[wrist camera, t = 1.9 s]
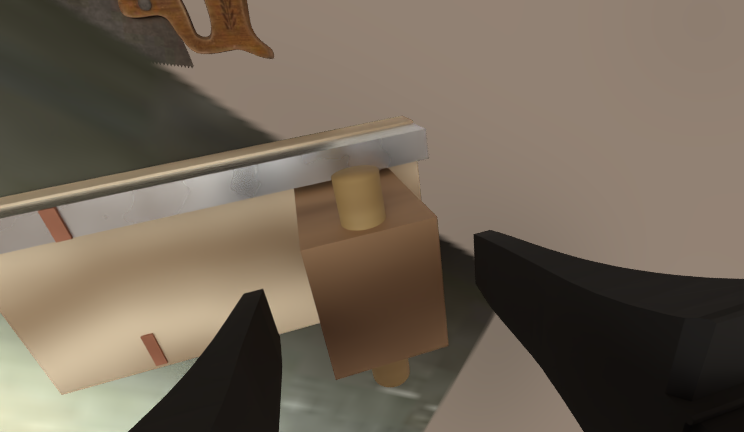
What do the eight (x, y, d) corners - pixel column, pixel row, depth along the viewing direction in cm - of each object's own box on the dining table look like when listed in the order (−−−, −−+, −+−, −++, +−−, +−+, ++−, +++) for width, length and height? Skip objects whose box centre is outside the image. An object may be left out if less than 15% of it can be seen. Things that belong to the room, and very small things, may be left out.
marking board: (421, 276, 21) (443, 310, 18) (78, 369, 18) (41, 426, 15) (402, 115, 17) (426, 126, 14) (-36, 204, 14) (-112, 239, 12)
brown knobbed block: (402, 285, 19) (451, 376, 13) (325, 306, 18) (344, 410, 13) (379, 129, 15) (432, 167, 10) (284, 149, 15) (286, 200, 9)
